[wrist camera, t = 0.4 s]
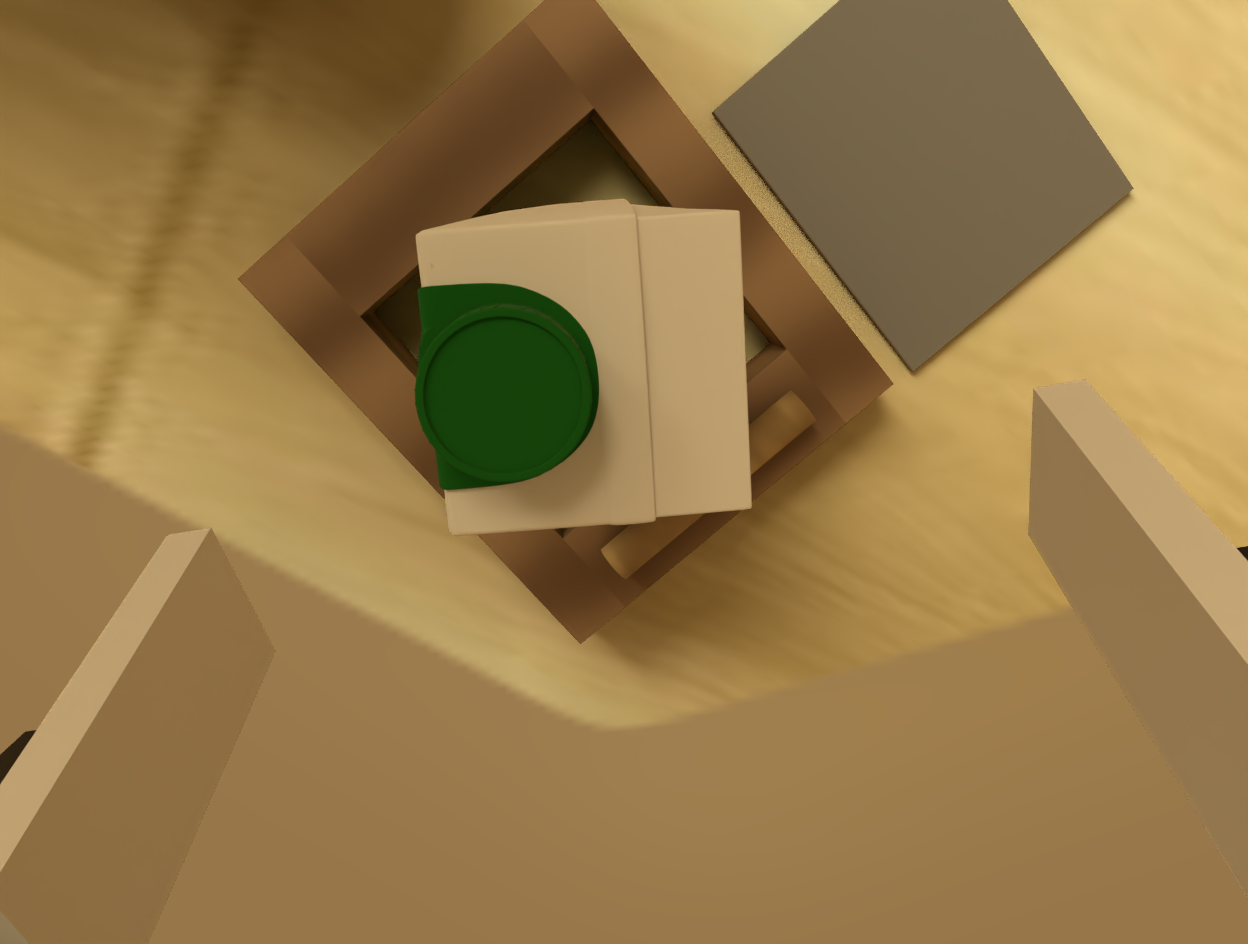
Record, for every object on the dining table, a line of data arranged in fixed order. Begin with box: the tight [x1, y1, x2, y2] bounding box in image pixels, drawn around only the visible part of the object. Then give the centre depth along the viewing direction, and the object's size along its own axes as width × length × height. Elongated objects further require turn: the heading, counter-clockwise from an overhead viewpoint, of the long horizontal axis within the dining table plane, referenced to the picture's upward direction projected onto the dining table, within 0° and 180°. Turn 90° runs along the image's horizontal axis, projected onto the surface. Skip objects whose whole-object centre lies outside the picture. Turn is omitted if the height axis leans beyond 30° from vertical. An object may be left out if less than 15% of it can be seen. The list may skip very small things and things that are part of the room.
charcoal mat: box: [712, 0, 1133, 371], centre depth 41 cm, size 14×12×1 cm
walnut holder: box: [238, 0, 893, 644], centre depth 39 cm, size 20×17×5 cm
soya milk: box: [414, 199, 752, 536], centre depth 32 cm, size 9×9×20 cm
